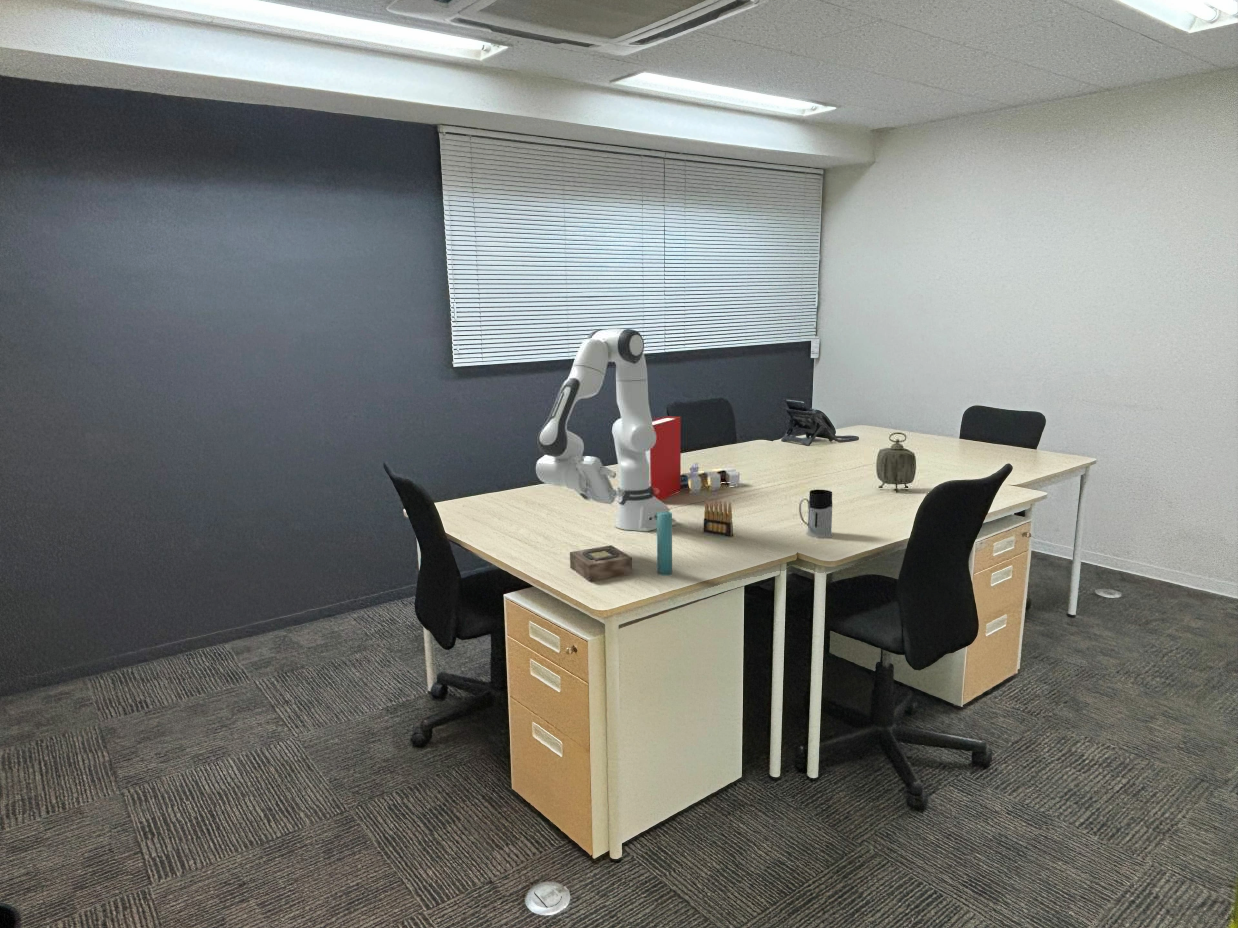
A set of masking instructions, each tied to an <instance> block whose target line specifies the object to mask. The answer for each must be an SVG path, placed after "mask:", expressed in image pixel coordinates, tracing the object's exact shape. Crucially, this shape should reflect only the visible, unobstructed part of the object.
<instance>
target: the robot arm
mask: <svg viewBox="0 0 1238 928" xmlns="http://www.w3.org/2000/svg"><path fill="white" fill-rule="evenodd" d="M644 349H645V342H644V338H643V336H642V334H641V333H640V332H639V331H637V330H636V329H631V328H627V329H625V328H611V329H610V328H608V329H596V330H594V331H592V332H590V333H589V334H588V335H587V337H586V339H585V340H583V341H582V342H581V345H580V346H579V349H578V350H577V353H576V355H575V358H574V360H573V364H572V366H571V369H570V373H569V375H568V377H567V379H566V380H564V382H563V383H562V384H561V387H560V389H559V391H558V393H557V395H556V397H555V400H554V402H553V405H552V407H551V410H550V412H549V414H548V417H547V418H546V421H545V423H544V424H543V425H542V427H541V428H540V430H539V432H538V434H537V441H536V443H537V447H538V449H539V451H540V452H541V453H542V454H544V455H543V456H542V457H540V458H539V459H538V460H537V461H536V465H535V473H536V476H537V478H538V479H539V480H540V481H541V482H543V483H545V484H547V485H552V486H553V487H561V488H562V487H566V488H567V489H570V490H574V491H575V492H576V493H577V494H578V495H580V497H581V498H583V499H584V501H589V502H590V501H591V500H592V501H593V502H596V503H600V504H605V505H611V504H613V503H614V502H615V499H616V498H617V503H618V504H617V505H618V507H617V515H616V519H615V523H614V526H615V527H616V528H617V529H621V530H625V531H637V532H638V531H639V532H649V531H655V530H657V513H658V512H670V509H669V507H668V506H667V504H666V503H664V502H662V500H659V499H657V498H656V497H654V494H653V493H655V494H658V493H659V491H658V489H657V488H652V487H650V486H649V463H648V461H647V457H646V451H648V450H650V449H651V448H652V447H653V446H654V445H655V443H656V433H655V431H654V428H653V424H652V419H653V418H652V413H651V409H650V408H651V407H650V404H649V403H650V402H649V388H648V387H649V384H648V381H649V380H648V369H647V362H646V356H645V353H644ZM610 362H611V363H614V364H615V382H616V383H615V388H616V389H615V391H616V393H615V394H616V405H617V406H618V410H619V414H620V418H618V419H617V420H615V422H614V423H613V424H612V428H611V429H612V430H611V433H612V436H613V440H614V448H615V453H616V459H617V465H618V466H617V467H618V487H617V490H616V488H615V489H614V487H613V485H612V482H611V480H610V479H611V478H612V479H615V478H616V476H617V473H616V471H615V470H612V469H610V468H609V467H606V466H604V465H603V464H602V461H601V459H600V458H598V457H596V456H592V455H591V456H590V455H589V456H588V455H584V452H585V442H584V441H583V439H582V438H581V437H580V436H579V435H577V434H575V433H573V432H572V431H569V430H568V429H567V427H568V426H567V425H568V423H569V420H570V417H571V414H572V412H573V409H574V406H575V405H576V403H577V402H578V401H579V400H581V399H588V398H592V397H594V396H595V395H597V394H598V393H599V391H600V390H601V387H602V386H603V383H604V380H605V375H606V372H607V368H608V363H610ZM675 525H677V520H676V519H675V518H674V517H672V526H675Z"/></svg>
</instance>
